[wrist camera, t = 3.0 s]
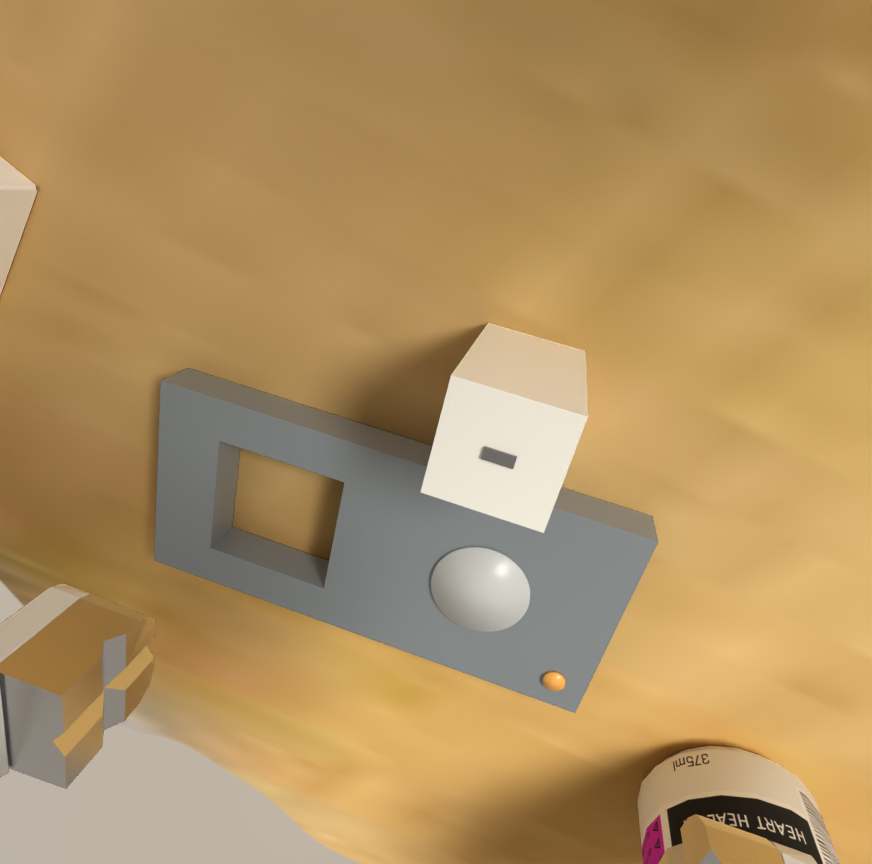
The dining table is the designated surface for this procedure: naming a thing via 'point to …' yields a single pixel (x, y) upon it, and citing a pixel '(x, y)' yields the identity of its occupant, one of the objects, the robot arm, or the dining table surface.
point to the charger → (509, 426)
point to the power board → (397, 544)
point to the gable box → (12, 213)
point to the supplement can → (729, 801)
